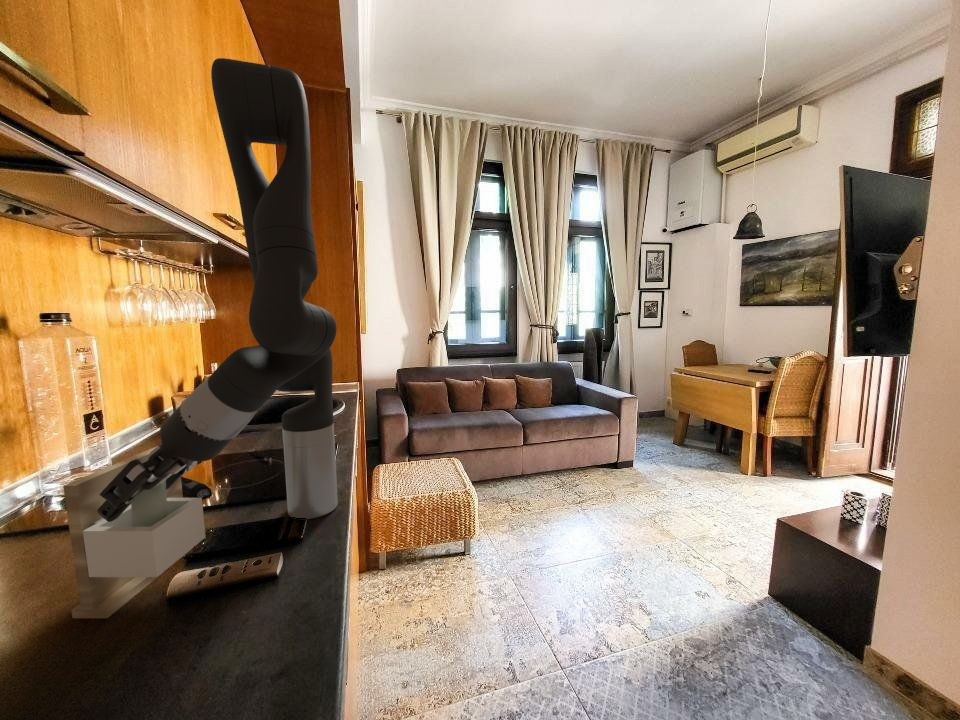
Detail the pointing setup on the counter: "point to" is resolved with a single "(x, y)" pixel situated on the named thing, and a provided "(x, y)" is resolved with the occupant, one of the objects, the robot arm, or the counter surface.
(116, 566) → the grey open box
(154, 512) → the pale green rounded cylinder
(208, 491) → the electric trimmer
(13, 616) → the counter surface
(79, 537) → the oak board
